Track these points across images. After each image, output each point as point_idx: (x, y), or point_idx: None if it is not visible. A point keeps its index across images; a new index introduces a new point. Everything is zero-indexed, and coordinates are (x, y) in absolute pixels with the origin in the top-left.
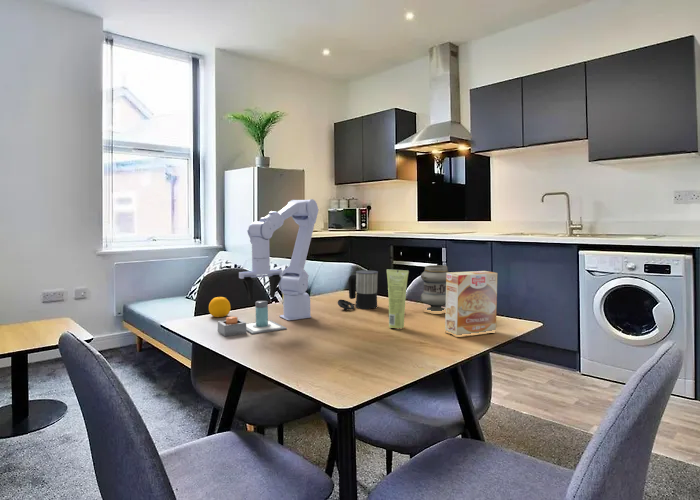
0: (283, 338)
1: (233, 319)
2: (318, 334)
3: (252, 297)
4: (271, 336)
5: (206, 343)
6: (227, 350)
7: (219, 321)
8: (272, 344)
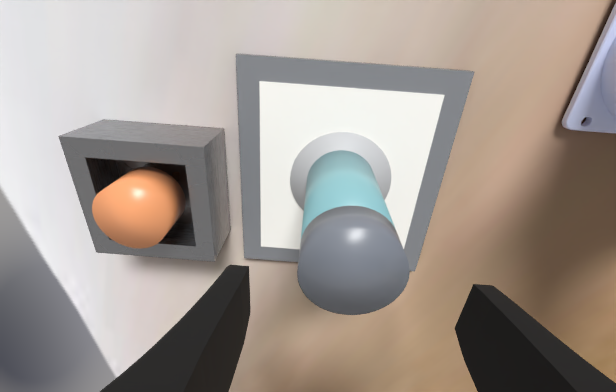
0: (322, 348)
1: (137, 246)
2: (447, 370)
3: (241, 338)
4: (301, 312)
5: (53, 265)
6: (121, 354)
7: (70, 145)
8: (261, 373)
